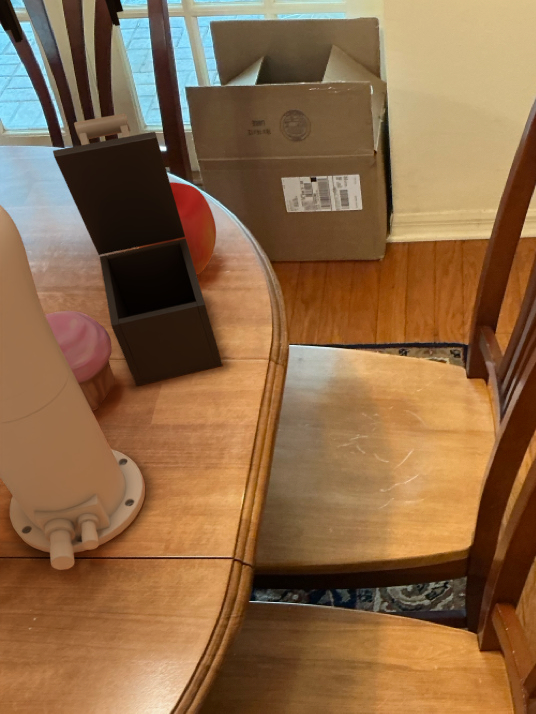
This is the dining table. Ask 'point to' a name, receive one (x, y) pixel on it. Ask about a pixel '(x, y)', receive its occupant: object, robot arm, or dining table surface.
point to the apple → (194, 224)
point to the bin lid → (120, 186)
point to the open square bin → (159, 312)
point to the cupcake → (85, 352)
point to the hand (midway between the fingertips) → (67, 28)
